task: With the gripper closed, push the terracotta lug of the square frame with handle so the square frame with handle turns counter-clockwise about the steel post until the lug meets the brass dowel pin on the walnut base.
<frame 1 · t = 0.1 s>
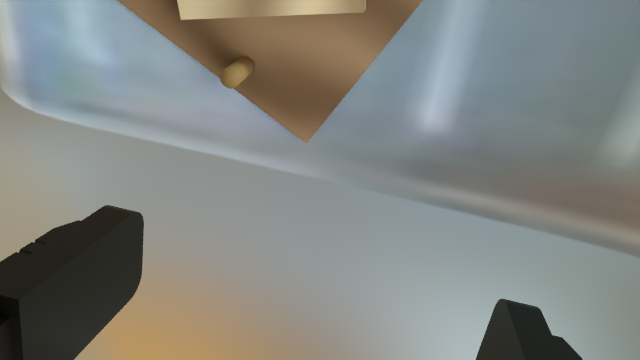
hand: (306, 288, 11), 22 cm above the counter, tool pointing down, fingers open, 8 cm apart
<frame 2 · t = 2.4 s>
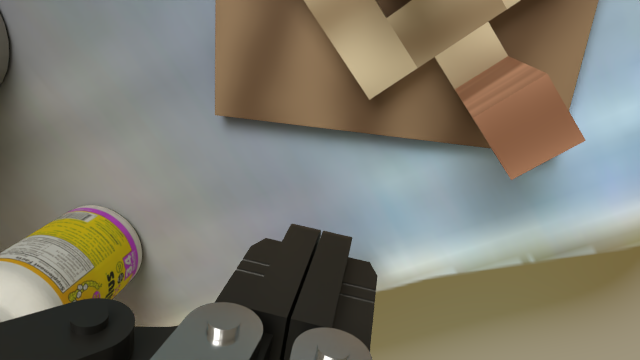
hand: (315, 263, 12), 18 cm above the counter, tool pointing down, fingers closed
supplement bottle: (106, 241, 35), on the counter
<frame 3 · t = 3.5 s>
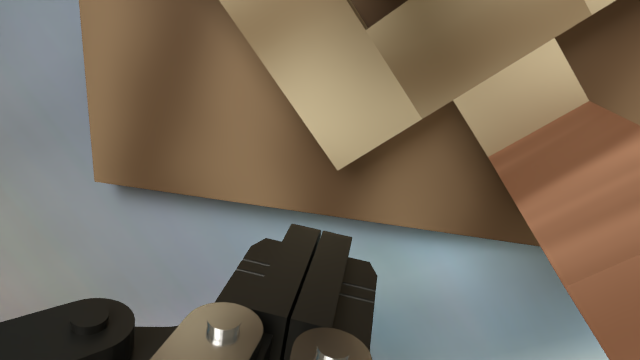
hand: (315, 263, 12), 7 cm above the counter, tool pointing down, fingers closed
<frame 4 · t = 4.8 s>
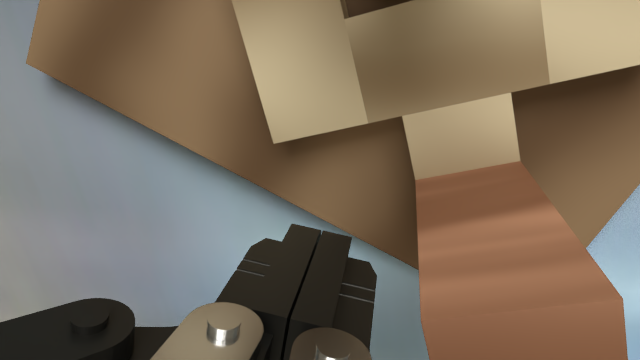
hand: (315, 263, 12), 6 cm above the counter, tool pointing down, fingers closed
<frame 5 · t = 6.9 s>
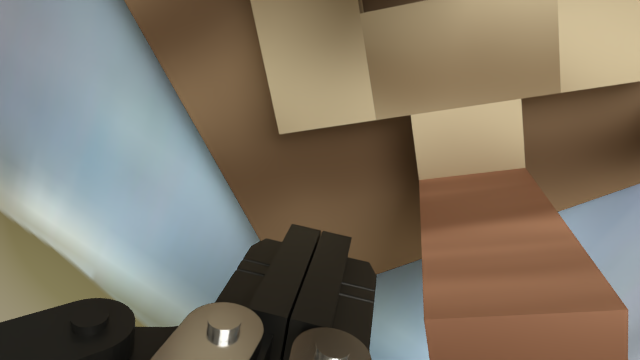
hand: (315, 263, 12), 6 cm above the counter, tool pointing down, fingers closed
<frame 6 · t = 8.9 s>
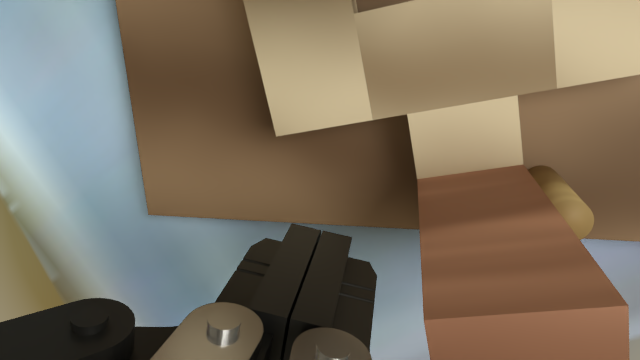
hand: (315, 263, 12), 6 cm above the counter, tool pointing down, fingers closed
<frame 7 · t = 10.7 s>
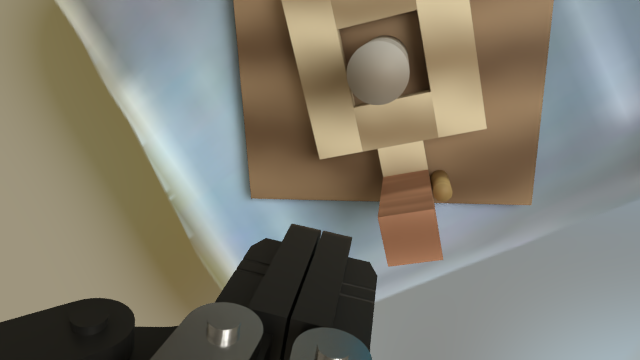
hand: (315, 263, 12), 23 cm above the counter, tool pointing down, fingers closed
post base: (385, 57, 32), on the counter
square frame with handle: (390, 108, 28), point 6 cm above the counter, hinge at 61.1°
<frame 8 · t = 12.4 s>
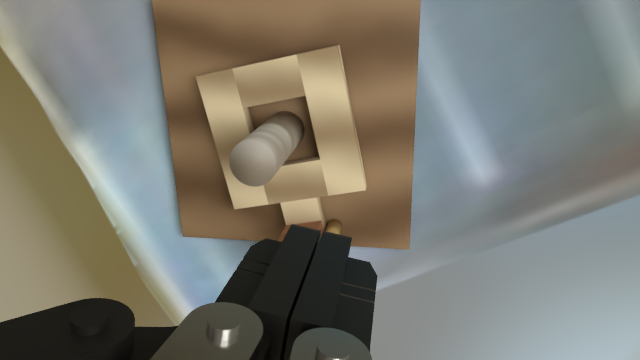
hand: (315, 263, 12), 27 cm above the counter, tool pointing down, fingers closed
post base: (289, 126, 39), on the counter
square frame with handle: (280, 177, 34), point 6 cm above the counter, hinge at 61.1°
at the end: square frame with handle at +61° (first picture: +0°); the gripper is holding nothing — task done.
